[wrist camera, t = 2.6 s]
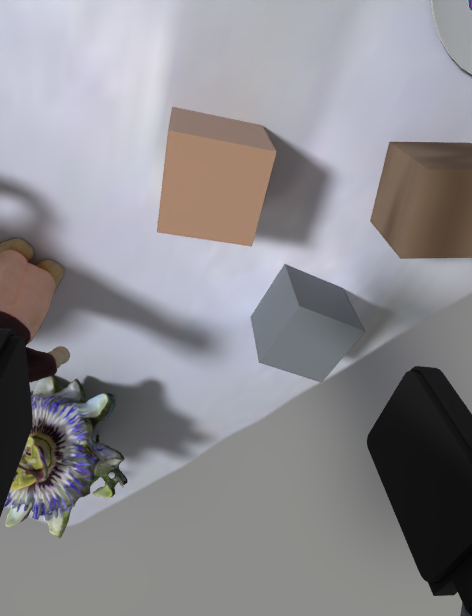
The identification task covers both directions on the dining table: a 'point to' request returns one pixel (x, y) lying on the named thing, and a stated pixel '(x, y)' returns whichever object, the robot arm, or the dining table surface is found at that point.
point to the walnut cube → (426, 200)
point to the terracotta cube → (214, 177)
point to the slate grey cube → (304, 325)
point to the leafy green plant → (62, 455)
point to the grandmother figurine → (29, 302)
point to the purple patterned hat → (455, 29)
